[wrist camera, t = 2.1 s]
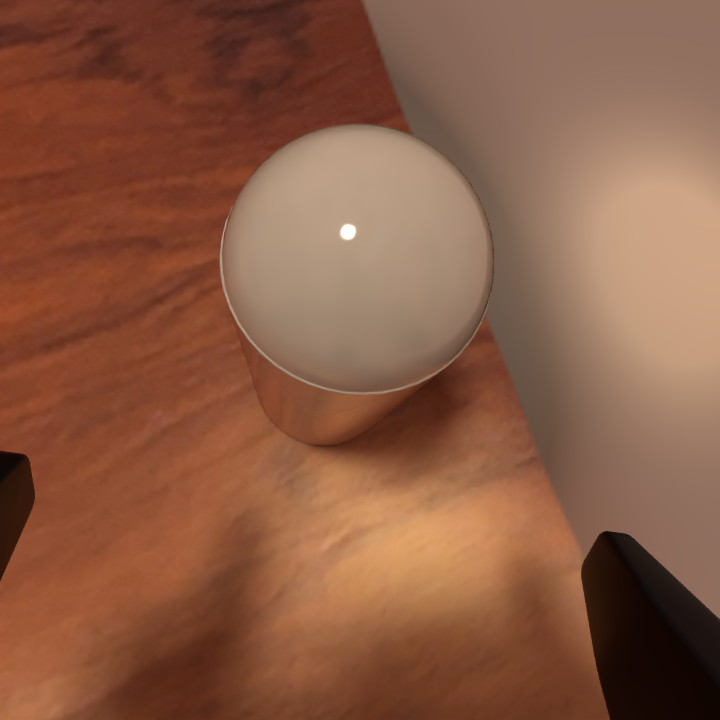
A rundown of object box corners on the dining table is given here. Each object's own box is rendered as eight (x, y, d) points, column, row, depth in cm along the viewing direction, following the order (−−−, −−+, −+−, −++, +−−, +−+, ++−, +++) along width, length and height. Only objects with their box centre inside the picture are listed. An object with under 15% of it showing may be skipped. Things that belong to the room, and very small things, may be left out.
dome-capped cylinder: (392, 444, 20) (557, 370, 8) (254, 446, 20) (196, 371, 7) (387, 313, 22) (526, 65, 9) (256, 312, 21) (206, 45, 8)
